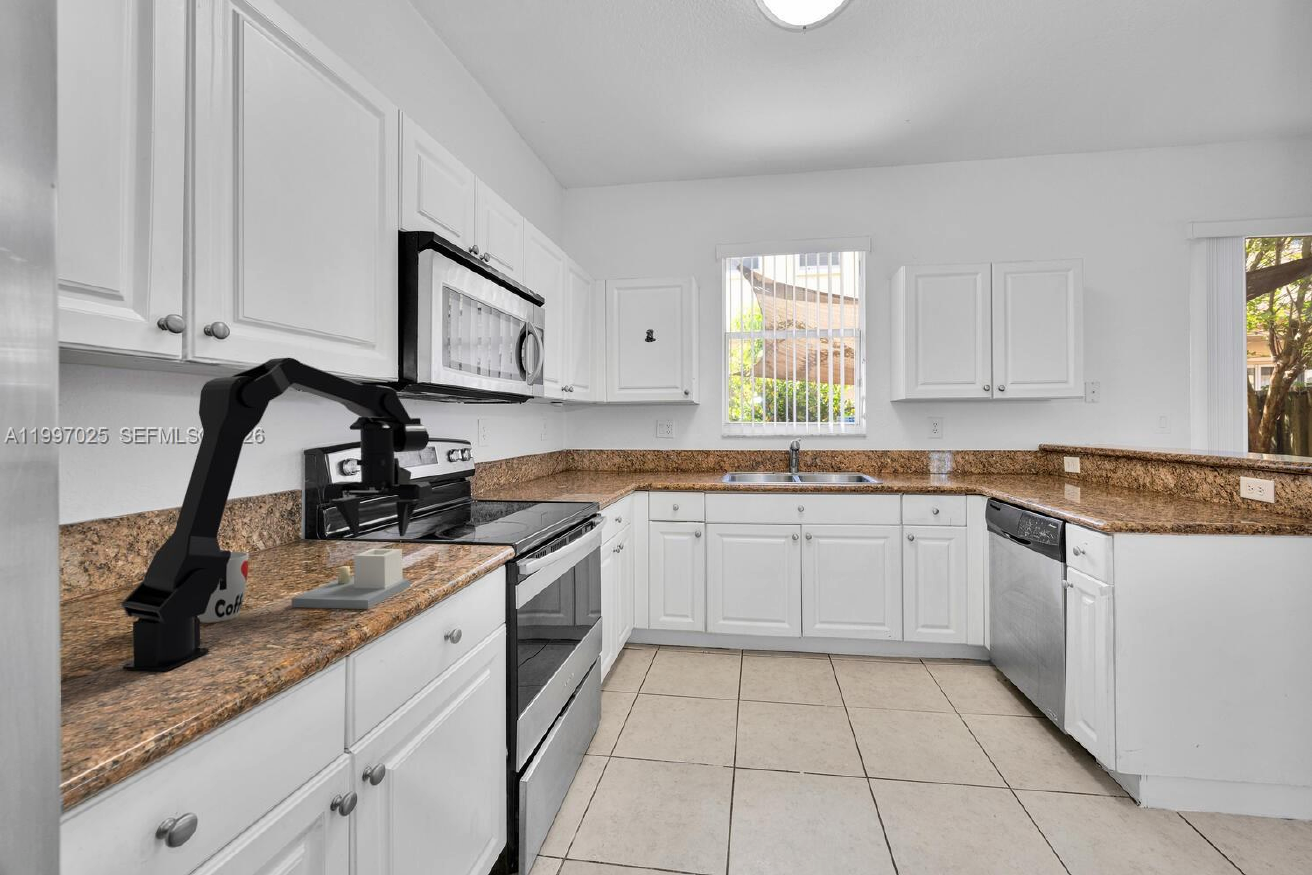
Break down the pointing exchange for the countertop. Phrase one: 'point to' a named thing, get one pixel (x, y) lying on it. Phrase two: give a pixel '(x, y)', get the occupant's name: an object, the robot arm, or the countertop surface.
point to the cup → (228, 591)
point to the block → (377, 568)
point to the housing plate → (346, 593)
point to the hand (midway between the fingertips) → (379, 535)
